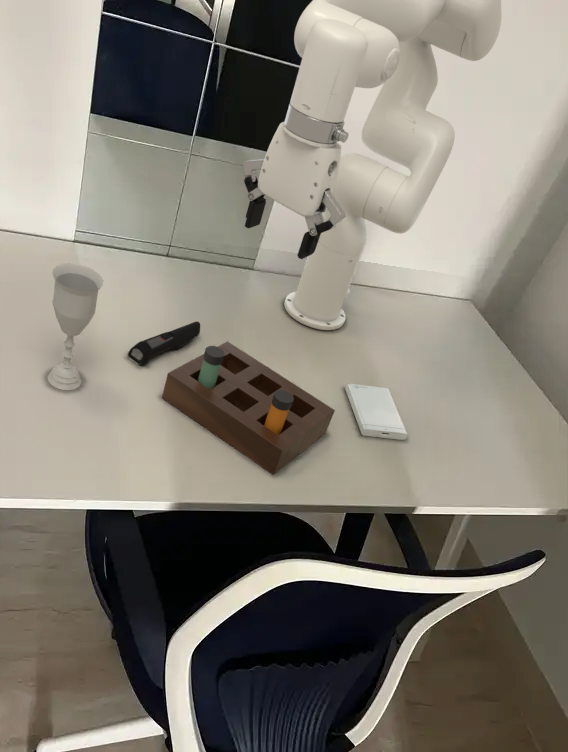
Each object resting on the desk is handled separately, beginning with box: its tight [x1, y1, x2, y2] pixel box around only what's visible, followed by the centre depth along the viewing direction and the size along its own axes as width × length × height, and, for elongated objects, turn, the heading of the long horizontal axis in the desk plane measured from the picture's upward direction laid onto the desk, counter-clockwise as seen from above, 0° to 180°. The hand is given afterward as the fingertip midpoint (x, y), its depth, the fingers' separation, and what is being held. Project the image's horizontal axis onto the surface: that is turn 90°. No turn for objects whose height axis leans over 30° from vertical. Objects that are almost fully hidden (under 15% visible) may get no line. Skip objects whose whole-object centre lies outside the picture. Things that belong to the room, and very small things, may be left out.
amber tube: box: [264, 390, 294, 435], centre depth 120 cm, size 3×3×10 cm
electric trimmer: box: [127, 321, 201, 366], centre depth 134 cm, size 4×16×3 cm, turn 142°
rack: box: [161, 340, 336, 475], centre depth 126 cm, size 16×22×5 cm
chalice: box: [47, 262, 104, 391], centre depth 116 cm, size 7×7×18 cm
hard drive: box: [344, 383, 409, 441], centre depth 137 cm, size 2×8×12 cm
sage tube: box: [198, 345, 225, 389], centre depth 123 cm, size 3×3×10 cm
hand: (277, 240), depth 117 cm, fingers open, 9 cm apart
